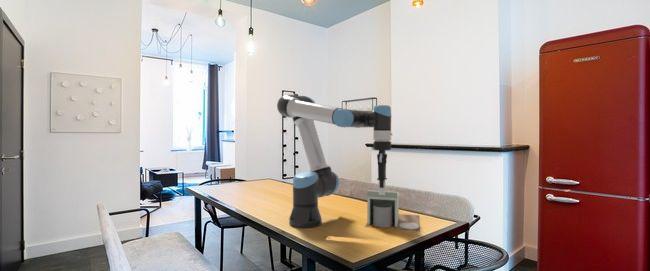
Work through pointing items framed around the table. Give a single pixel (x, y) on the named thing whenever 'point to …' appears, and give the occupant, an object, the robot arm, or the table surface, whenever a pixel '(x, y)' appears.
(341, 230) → the table surface
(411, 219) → the board
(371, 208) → the hood
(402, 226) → the coaster
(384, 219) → the cup
